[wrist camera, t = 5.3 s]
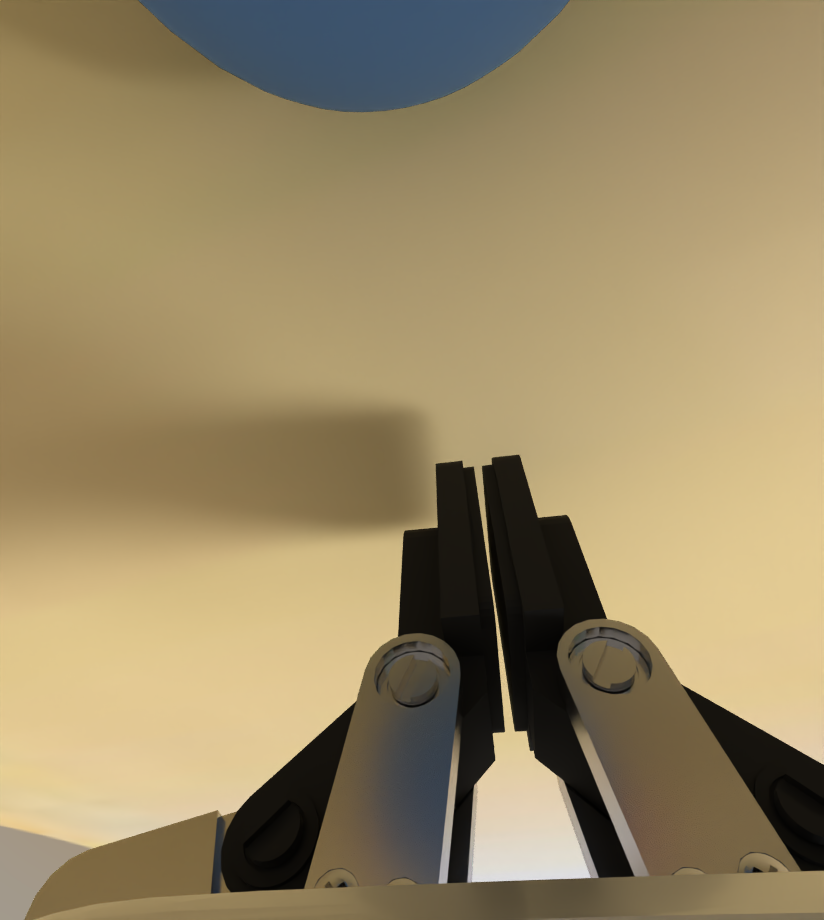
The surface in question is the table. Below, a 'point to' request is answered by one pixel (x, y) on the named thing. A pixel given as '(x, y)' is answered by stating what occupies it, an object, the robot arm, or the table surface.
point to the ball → (357, 44)
